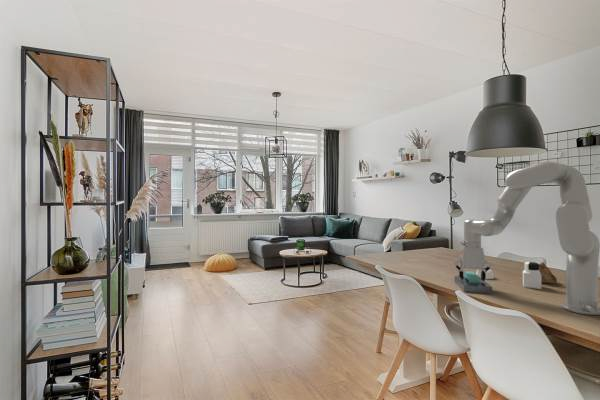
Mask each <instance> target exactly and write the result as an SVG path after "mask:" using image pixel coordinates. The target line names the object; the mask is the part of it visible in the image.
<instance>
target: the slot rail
mask: <svg viewBox="0 0 600 400" xmlns="http://www.w3.org/2000/svg"><path fill="white" fill-rule="evenodd" d="M454 282H455V285H457V286H458V287H459V288H460V289H461V291H463V292H464V293H476V294H493V286H492V285H491V284H489V283H488V282H487V281H486V280H484V281H483V280H481V278H480V277H479V284H470V283H469V280H466V279H465V276H464V275H463V280H462V279H461V278H460V277H459V275H454Z"/></svg>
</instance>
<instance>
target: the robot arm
mask: <svg viewBox="0 0 600 400" xmlns="http://www.w3.org/2000/svg"><path fill="white" fill-rule="evenodd" d="M504 182H505V185H506V186H505V188H504V189H503V191H502V192H501V193H500V194H499V196H498V197H497V203H498V204H497V205H498V207H497V209H496V211H495V213H494V214H493V216H492V217H491V219H486V220H479V219H465V220H464V221H463V222H464V223H463V240H462V241H461V242H460V245H461V246H462V248H461V253H460V258H458V259H456V260H454V261H453V262H452V263H453V265H454V266H455V268H456V270H458V272H459V274H458V276H459V277H460V278H461V279H462V280H463V276H464V270H465V269H476V270H477V269H481V270H482V271H481V280H483V281H485V280H486V279H485V278H486V272H487V271H488V270H491V269H490V268H492V266H493V264H492V263H491V262H489V261H488V260H485V251H484V248H483V247H482V236H483V237H492V236H498V235H500V234H501V233H502V232H503V231H504V230H505V229H506V228H507V227H508V225H509V224H510V223H511V221H512V219H513V218H514V215H515V213H516V210H517V208H518V207H519V205H520V204H521V203H522V201H523V200H524V199H525V197H526V196H527V195H528V193H530V191H531V189H533V187H536V186H540V185H544V184H545V185H546V184H556V185H558V186H559V197H560V200H561V205H560V206H559V207H558V208H557V210H556V213H555V222H556V223H555V224H556V228H557V236H558V240H559V244H560V245H559V246H560V247H561V249H562V251H564V252H565V253H566V254H567V255H566V268H565V269H566V275H565V277H566V278H565V279H566V280H565V282H566V283H565V285H566V287H565V293H566V294H565V301H564V302H562V303H561V304H560V306H561V308H563V310H567V311H569V312H571V313H577V314H582V315H590V316H597V315H598V316H600V307H599V303H598V302H599V296H598V295H599V259H600V258H599V257H600V239H599V237H598V236H597V234H595V233H594V232H593V231H591V230H590V225H589V223H590V222H591V220H592V219H593V211H592V207H591V203H590V198H589V193H588V188H587V184H586V180H585V178H584V176H583V174H582V172H580V171H579V169H577V168H575V167H573V166H571V165H567V164H564V163H559V162H553V161H544V162H540V163H536V164H533V165H530V166H527V167H523V168H522V167H521V168H519V169H516V170H512V171H511V172H509V173H508V174H507V176H506V177H505V181H504ZM459 263H460V266H459ZM484 267H485V268H484Z"/></svg>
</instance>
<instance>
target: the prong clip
mask: <svg viewBox="0 0 600 400" xmlns="http://www.w3.org/2000/svg"><path fill="white" fill-rule="evenodd" d="M463 276H465V279H466V280H469V283H470V284H479V276H478V275H476V272H474V271H467V270H466V271H465V270H463Z"/></svg>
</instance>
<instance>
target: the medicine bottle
mask: <svg viewBox="0 0 600 400" xmlns="http://www.w3.org/2000/svg"><path fill="white" fill-rule="evenodd" d="M539 264H540V263H538V262H534V261H527V262H524V270H522V285H523V288H527V289H528V288H529V289H535V290H536V289H537V290H541V289H542V282H541V273H540V272H539Z"/></svg>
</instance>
